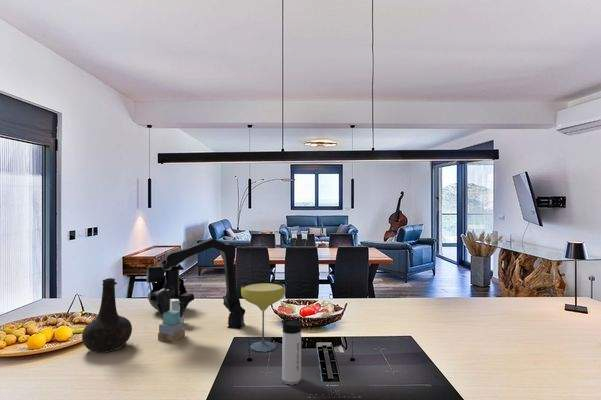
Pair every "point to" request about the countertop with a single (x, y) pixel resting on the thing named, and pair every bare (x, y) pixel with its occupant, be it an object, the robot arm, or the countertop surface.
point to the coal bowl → (160, 286)
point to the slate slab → (170, 328)
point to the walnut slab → (171, 336)
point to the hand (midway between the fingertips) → (171, 316)
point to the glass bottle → (107, 324)
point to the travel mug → (291, 352)
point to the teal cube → (171, 317)
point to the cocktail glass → (263, 304)
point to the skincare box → (176, 307)
